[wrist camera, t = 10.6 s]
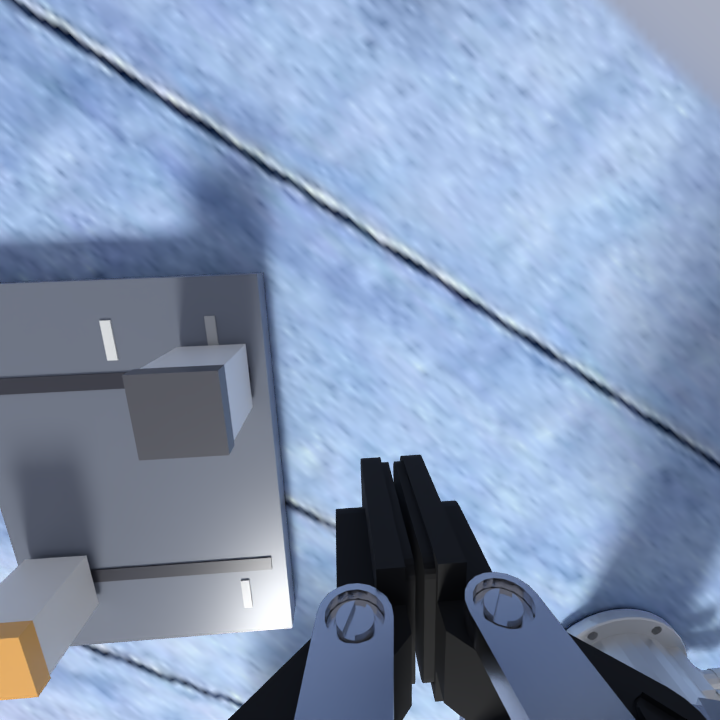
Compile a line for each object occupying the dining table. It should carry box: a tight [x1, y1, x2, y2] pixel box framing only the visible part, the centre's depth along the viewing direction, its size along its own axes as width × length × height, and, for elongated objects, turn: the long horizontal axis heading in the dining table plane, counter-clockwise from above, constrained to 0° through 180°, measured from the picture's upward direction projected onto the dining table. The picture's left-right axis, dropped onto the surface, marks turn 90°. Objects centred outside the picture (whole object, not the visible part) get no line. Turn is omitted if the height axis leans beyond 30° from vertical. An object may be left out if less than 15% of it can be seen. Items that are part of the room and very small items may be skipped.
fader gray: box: [122, 344, 253, 461], centre depth 21 cm, size 4×4×6 cm
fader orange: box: [0, 555, 99, 700], centre depth 24 cm, size 4×4×6 cm
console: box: [0, 273, 295, 646], centre depth 27 cm, size 18×26×2 cm
